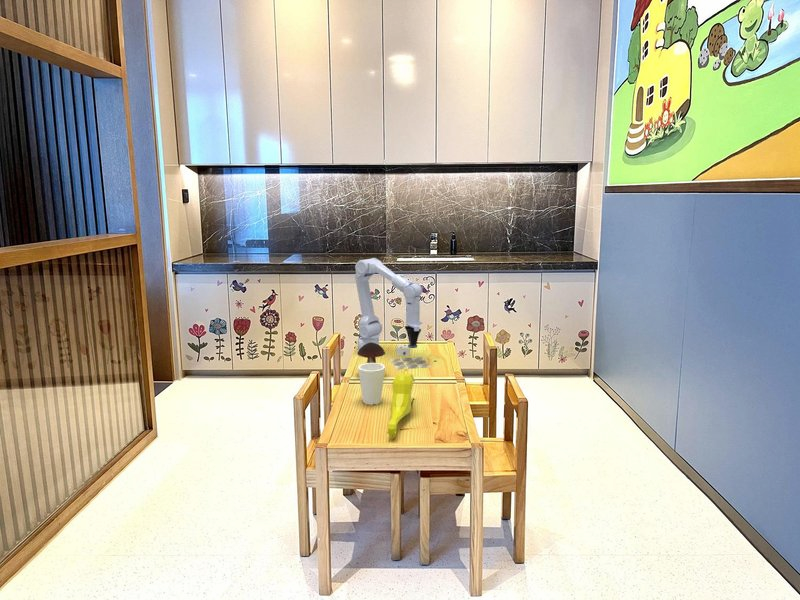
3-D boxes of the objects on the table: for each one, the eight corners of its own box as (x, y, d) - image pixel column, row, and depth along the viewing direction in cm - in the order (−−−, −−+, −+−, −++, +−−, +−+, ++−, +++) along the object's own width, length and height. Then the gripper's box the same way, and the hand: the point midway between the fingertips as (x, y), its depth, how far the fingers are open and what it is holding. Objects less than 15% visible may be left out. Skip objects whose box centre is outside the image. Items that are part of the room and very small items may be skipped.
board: (396, 372, 234) (396, 369, 234) (389, 361, 249) (389, 359, 248) (431, 369, 238) (431, 367, 237) (422, 359, 252) (422, 356, 252)
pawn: (409, 348, 239) (409, 333, 238) (407, 345, 243) (407, 330, 242) (418, 347, 240) (418, 332, 239) (416, 345, 244) (416, 330, 243)
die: (398, 359, 253) (398, 348, 252) (396, 355, 257) (396, 345, 256) (409, 358, 254) (409, 347, 253) (407, 355, 259) (407, 344, 258)
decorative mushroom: (388, 381, 223) (388, 345, 220) (361, 384, 220) (360, 347, 217) (380, 373, 233) (380, 337, 230) (354, 375, 230) (354, 340, 227)
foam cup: (358, 397, 207) (358, 363, 205) (384, 396, 208) (384, 362, 205) (358, 407, 198) (358, 371, 195) (385, 406, 198) (385, 370, 196)
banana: (398, 422, 206) (379, 440, 171) (400, 366, 207) (382, 373, 172) (416, 423, 204) (402, 442, 170) (419, 367, 205) (404, 374, 171)
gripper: (426, 315, 233) (426, 347, 235) (417, 308, 246) (417, 338, 249) (409, 316, 231) (409, 348, 234) (402, 309, 245) (402, 339, 248)
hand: (412, 343), depth 241 cm, fingers closed on pawn, 3 cm apart
